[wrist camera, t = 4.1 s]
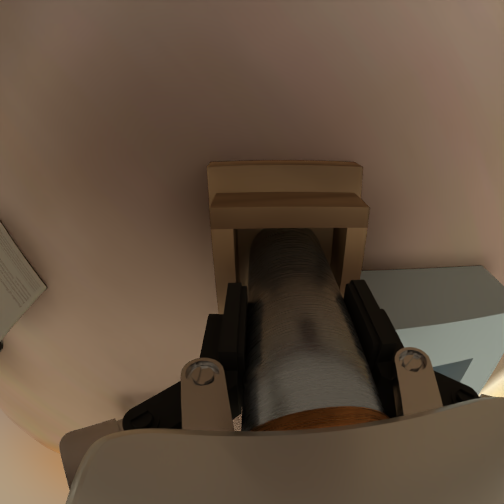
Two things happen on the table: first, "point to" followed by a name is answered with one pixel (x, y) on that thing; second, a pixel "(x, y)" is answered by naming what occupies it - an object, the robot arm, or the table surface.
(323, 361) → the pin
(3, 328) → the supplement box
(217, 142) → the table surface
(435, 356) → the socket
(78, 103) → the table surface
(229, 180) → the mount
